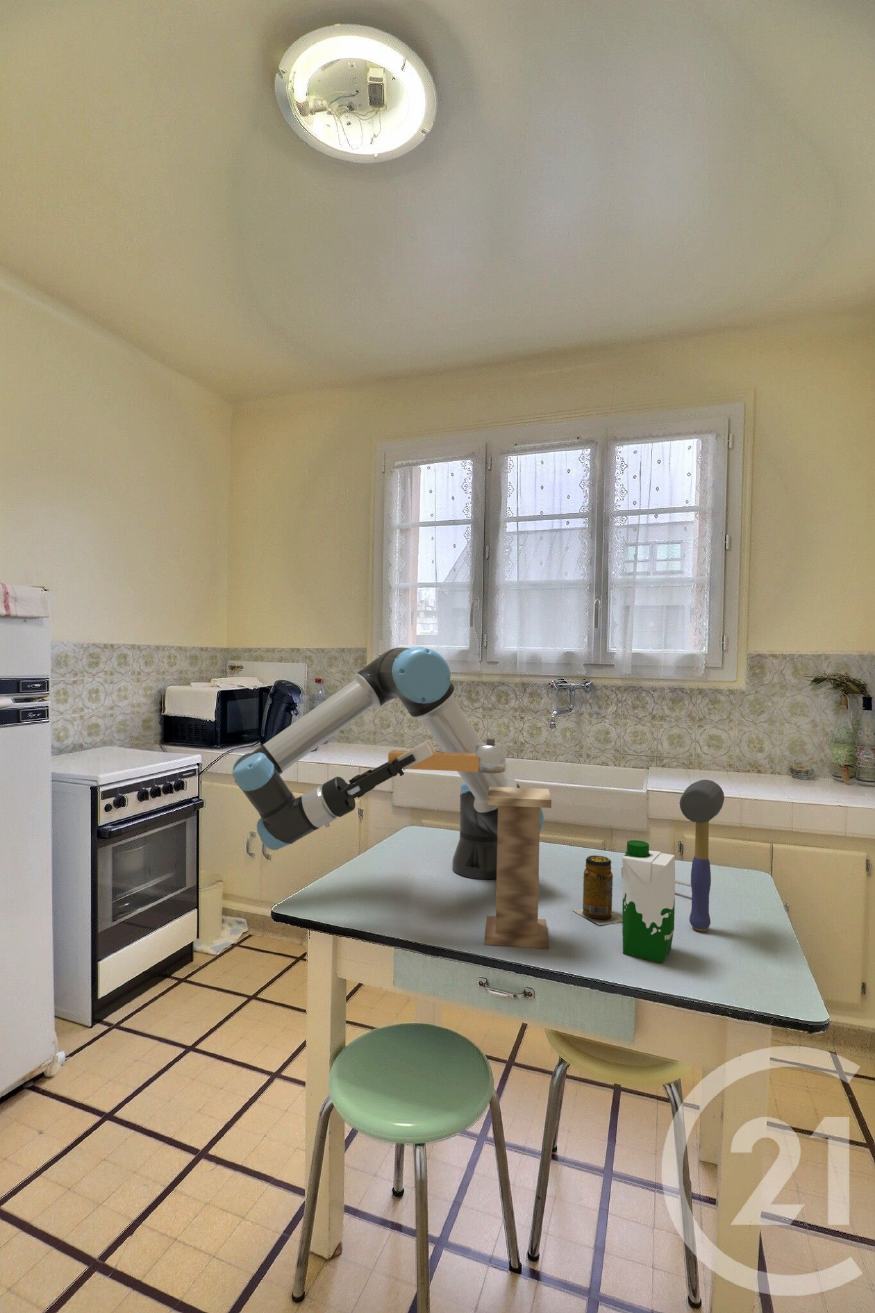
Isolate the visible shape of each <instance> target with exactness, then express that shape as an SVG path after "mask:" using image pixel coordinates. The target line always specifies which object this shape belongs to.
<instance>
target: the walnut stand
mask: <svg viewBox="0 0 875 1313" xmlns="http://www.w3.org/2000/svg"><path fill="white" fill-rule="evenodd" d="M487 805H498V833H497V878H496V883H495V884H496V890H495V891H496V892H495V893H496V894H495V915H486V921H485V930H484V945H488V946H490V945H491V946H502V947H517V948H518V947H521V948H530V947H531V948H530V949H532V948H533V949H547V950H548V949H549V934H548V925H547V919H546V918H544V919H543V918H539V884H540V883H539V882H540V881H539V879H540V878H539V876H540V874H539V873H540V872H539V871H540V835H541V832H540V807H541V809H542V808H543V809H544V808H545V809H546V808H547V809H552V797H551V794H550V790H549V788H535V787H534V788H529V787H520V788H512V787H489V791H488V797H487Z"/></svg>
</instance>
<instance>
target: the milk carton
mask: <svg viewBox="0 0 875 1313" xmlns="http://www.w3.org/2000/svg"><path fill="white" fill-rule="evenodd" d="M622 867H623V878H622V910H621V911H622V914H621V915H622V916H621V917H622V921H621V923H622V924H621V925H622V926H621V927H622V928H621V929H622V931H621V932H622V933H621V934H622V954H624V955H628V956H630V957H631V956H632V957H635V958H639V959H643V960H647V961H650V962H654V963H658V964H663V963H664V961H665V959H666V958H667V957H668V954H669V952H670V951H671V949H672V943H673V938H674V932H675V913H676V912H675V909H676V907H675V906H676V901H675V900H676V883H675V880H676V856H675V854H670V853H669V854H668V853H664V852H662V851H659V850H655V851H654V850H650V843H648V842H646V841H644V840H636V839H633V840H632V839H631V840H627V842H626V851H625V854H624V855H623V857H622Z"/></svg>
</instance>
